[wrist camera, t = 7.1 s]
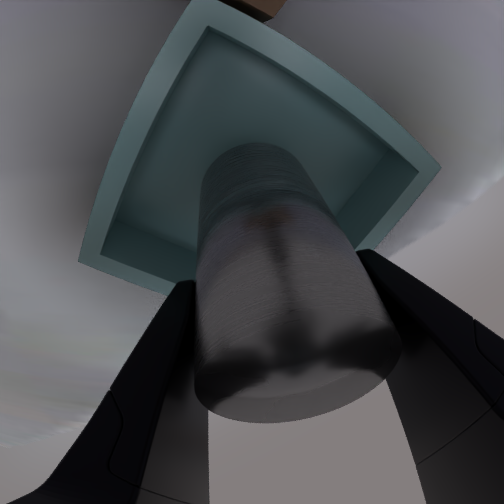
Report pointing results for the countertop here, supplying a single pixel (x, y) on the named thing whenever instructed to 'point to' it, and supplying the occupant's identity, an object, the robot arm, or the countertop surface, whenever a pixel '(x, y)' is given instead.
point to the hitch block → (256, 8)
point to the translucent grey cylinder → (281, 296)
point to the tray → (237, 133)
